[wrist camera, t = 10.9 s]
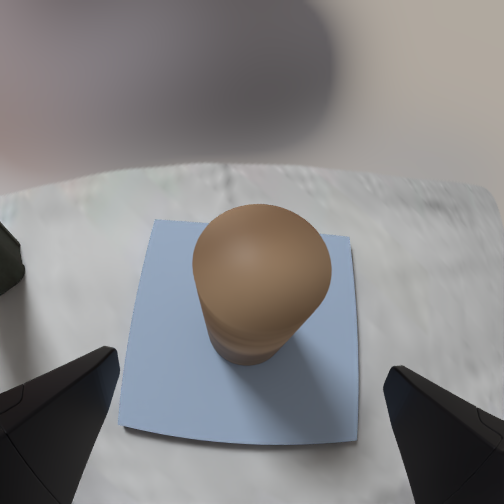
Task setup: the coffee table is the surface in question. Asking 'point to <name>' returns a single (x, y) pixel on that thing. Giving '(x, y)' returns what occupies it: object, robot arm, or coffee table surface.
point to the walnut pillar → (258, 279)
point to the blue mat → (232, 375)
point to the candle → (9, 260)
